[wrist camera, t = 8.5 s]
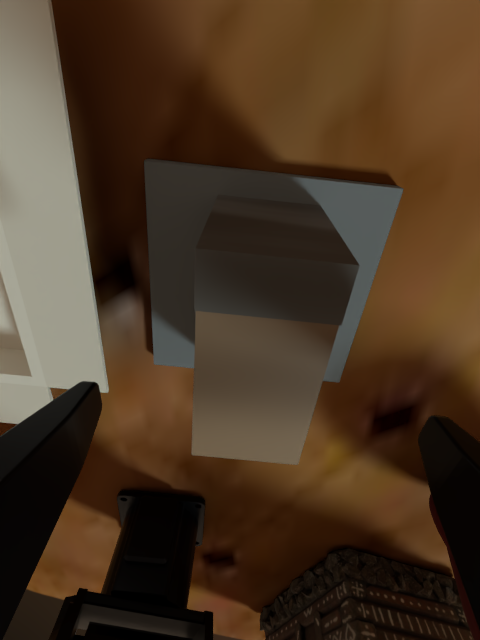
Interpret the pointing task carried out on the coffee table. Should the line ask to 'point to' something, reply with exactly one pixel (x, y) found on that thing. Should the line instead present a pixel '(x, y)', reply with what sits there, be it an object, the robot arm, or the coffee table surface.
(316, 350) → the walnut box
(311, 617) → the model building
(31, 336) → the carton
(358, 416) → the coffee table surface
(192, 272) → the slate mat
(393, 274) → the coffee table surface
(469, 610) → the mug
